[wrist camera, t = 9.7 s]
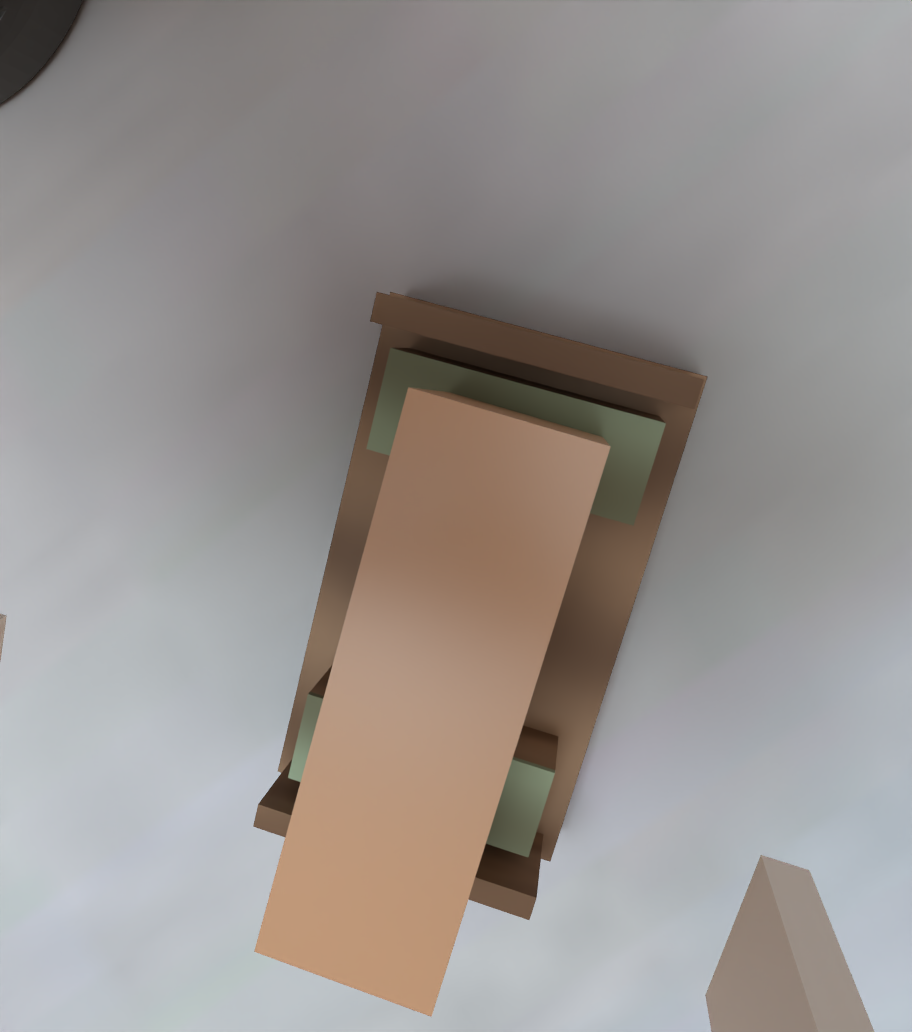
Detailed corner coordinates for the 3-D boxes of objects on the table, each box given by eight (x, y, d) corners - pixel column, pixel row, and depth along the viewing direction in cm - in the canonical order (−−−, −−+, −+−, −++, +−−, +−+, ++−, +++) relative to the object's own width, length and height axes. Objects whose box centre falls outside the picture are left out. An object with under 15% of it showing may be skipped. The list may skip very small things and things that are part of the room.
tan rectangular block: (449, 392, 24) (408, 387, 19) (602, 437, 24) (610, 446, 18) (325, 831, 27) (254, 951, 21) (464, 879, 26) (431, 1016, 20)
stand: (404, 295, 29) (360, 283, 23) (699, 374, 28) (724, 380, 22) (296, 746, 32) (238, 824, 27) (552, 829, 31) (544, 928, 26)
